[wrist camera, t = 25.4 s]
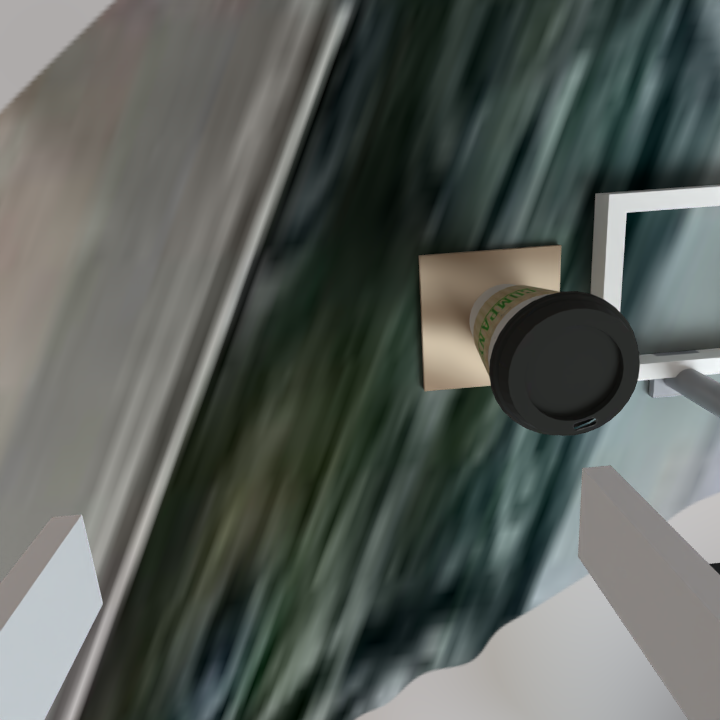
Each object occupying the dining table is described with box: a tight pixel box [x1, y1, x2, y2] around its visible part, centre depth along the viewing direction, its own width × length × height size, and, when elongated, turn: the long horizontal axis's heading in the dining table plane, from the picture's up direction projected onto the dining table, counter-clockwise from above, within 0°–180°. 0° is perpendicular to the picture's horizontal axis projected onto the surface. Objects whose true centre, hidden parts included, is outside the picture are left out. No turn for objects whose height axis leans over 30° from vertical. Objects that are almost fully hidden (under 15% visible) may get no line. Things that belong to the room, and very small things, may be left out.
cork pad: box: [419, 245, 561, 391], centre depth 52 cm, size 12×12×1 cm
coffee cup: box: [469, 284, 640, 436], centre depth 45 cm, size 10×10×15 cm
